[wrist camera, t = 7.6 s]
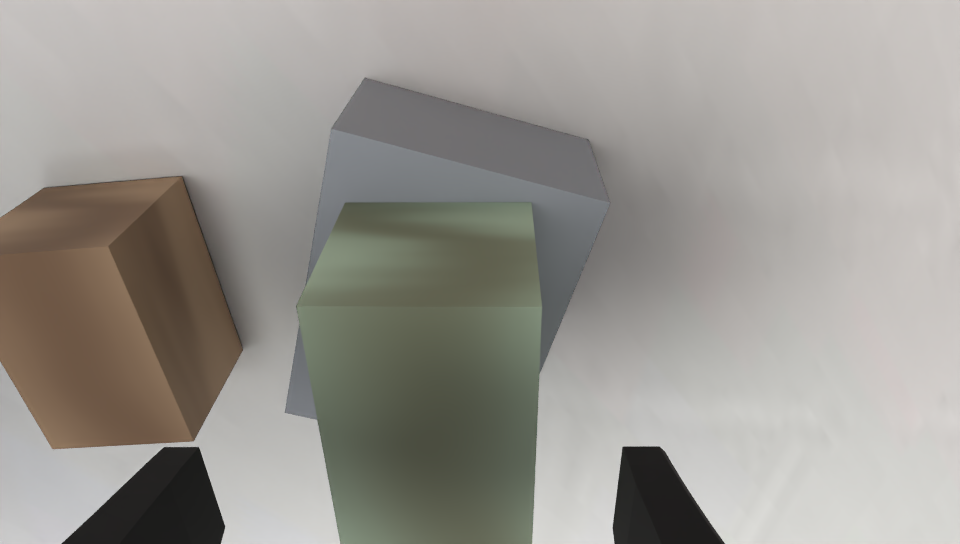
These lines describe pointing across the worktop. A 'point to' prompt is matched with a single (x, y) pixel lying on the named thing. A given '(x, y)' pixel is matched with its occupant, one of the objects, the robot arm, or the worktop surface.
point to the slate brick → (460, 186)
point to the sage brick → (427, 370)
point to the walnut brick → (113, 314)
